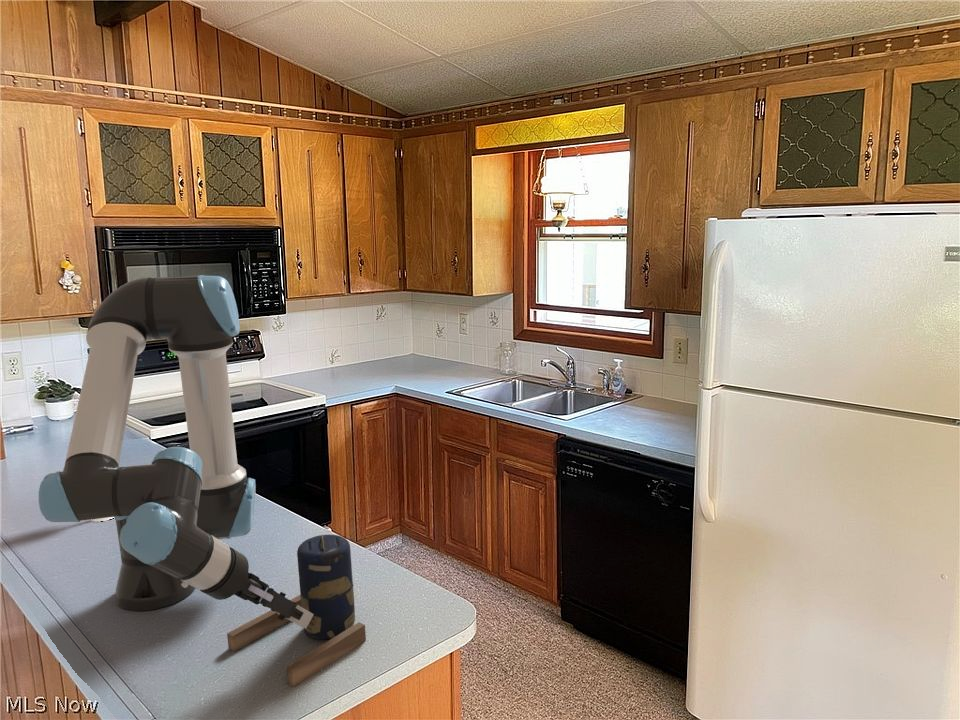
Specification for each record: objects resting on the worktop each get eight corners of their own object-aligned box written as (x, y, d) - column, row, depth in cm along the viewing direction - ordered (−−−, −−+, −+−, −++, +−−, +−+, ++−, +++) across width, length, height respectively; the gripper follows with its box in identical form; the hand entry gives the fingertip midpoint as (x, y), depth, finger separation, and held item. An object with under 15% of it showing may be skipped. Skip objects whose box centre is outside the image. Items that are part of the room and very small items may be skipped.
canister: (359, 613, 135) (353, 526, 131) (351, 642, 125) (345, 549, 122) (309, 615, 135) (302, 527, 131) (298, 644, 125) (290, 551, 122)
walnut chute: (228, 648, 125) (227, 633, 124) (301, 608, 137) (299, 594, 136) (293, 687, 114) (292, 670, 113) (365, 640, 126) (364, 625, 125)
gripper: (177, 578, 111) (273, 628, 126) (223, 603, 103) (319, 653, 119) (205, 535, 114) (295, 589, 130) (252, 556, 106) (342, 611, 122)
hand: (307, 620), depth 124 cm, fingers closed
